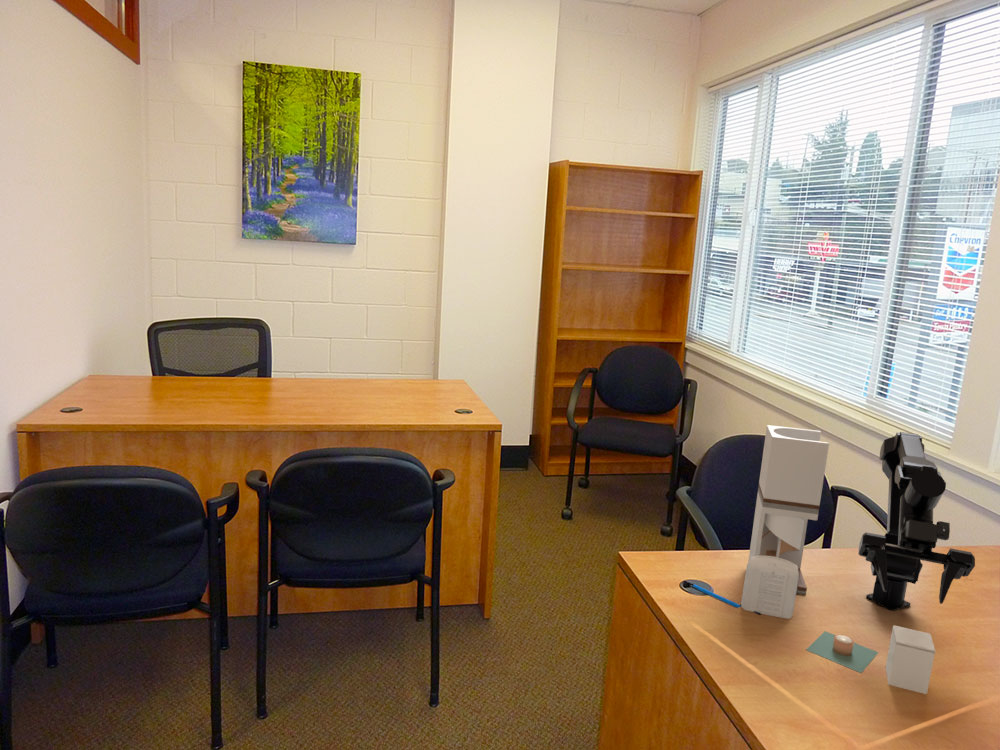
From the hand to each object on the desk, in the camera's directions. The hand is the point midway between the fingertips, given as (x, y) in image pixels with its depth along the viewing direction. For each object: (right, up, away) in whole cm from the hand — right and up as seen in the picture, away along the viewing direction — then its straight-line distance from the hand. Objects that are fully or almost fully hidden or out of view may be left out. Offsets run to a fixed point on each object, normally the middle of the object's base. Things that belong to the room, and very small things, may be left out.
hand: (913, 596), depth 137 cm
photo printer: (-20, -9, +18) cm, 29 cm away
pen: (-28, -8, +22) cm, 37 cm away
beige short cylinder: (-11, -11, +4) cm, 17 cm away
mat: (-11, -12, +4) cm, 17 cm away
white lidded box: (-4, -14, -4) cm, 15 cm away
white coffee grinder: (-13, -6, +33) cm, 36 cm away
